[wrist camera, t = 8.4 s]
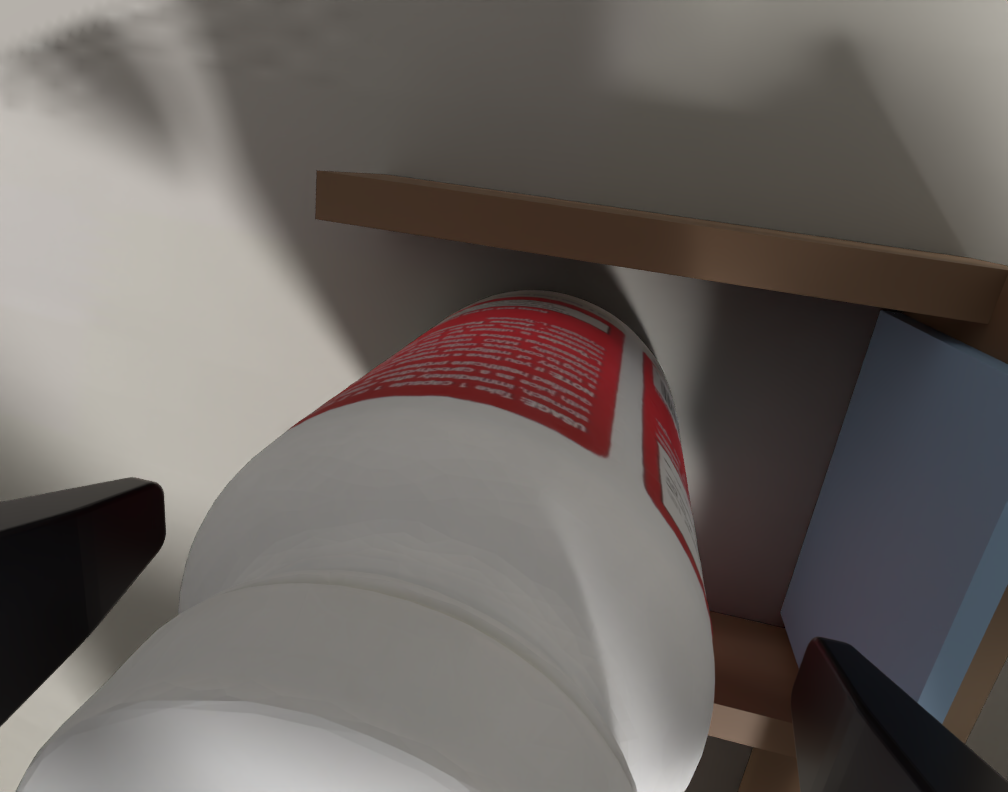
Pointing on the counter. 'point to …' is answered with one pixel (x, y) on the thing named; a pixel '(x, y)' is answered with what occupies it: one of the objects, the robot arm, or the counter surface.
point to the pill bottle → (434, 587)
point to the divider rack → (857, 455)
